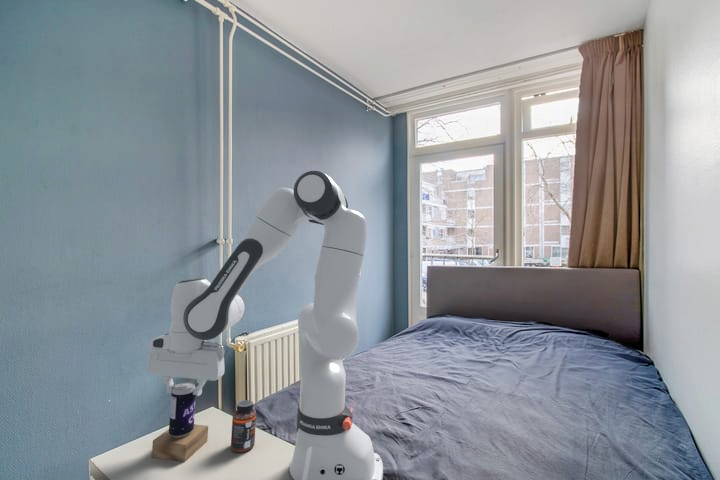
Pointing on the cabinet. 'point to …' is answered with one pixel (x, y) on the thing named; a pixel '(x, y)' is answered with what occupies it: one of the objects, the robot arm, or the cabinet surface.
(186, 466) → the cabinet surface
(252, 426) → the supplement bottle
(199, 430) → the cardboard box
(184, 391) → the beverage can
